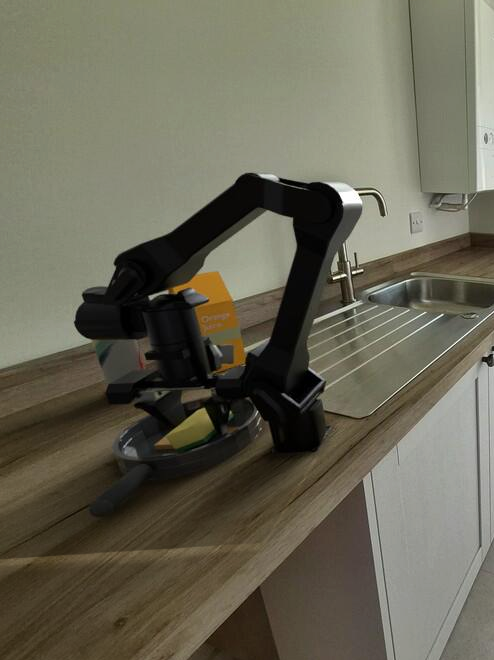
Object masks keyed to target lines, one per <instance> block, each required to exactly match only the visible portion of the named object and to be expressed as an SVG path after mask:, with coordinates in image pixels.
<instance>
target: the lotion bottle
mask: <svg viewBox="0 0 494 660" xmlns="http://www.w3.org/2000/svg"><path fill="white" fill-rule="evenodd" d="M107 288H108V286H104V285H101V286H100V285H99V286H98V285H97V286H92V287H89V288H86V289H85V290H83V291H82V293H85V292H89V291H93V290H107ZM91 343H92V346H93V348H94V351H95V354H96V358H97V361H98V362H99V365H100V368H101V371H102V375H103V376H104V380H105V382H106V385H107V386H108V384H109V383H111V382H113V381H115V380H117V379H119V378H121V377H122V376H124V375H126V374H128V373H130V372H132V371H134V370H147V369H146V366H145V363H144V359H143V357H142V354H141V350H140V348H139V344H138V341H137V340H91Z"/></svg>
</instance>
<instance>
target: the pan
mask: <svg viewBox="0 0 494 660" xmlns="http://www.w3.org/2000/svg"><path fill="white" fill-rule="evenodd" d="M211 396H212V395H210V396H203V397H198V398H194V399H190V400H185V401H183V402H182V401H181V402H182V406H183V409H184V412H185V416H186V419H187V418H189V417H190V416H191V415H192V414H194V413H195V412H196V411H197V410H200V409H202V408H204V406H203V402H205V401H206V400H207V399H208V398H210V397H211ZM230 411H231V413H232V414H233V415H234V416H233V417H232V418H231V419H230V420H229V421H228V425H227V430H226V432H225V433H224V434H223V435H221V436H220V435H219V434H218V433H217V432H216V433H215V434H214V435H213V436H212V437H211V438H210V439H209V440H208V441H207V442H205V443H203V444H200V445H197V446H195V447H192V448H189V449H187V450H184V451H182V452H179V453H178V452H177V451H176V449H160V450H155V447H154V445H155V444H156V443H157V442H159V441H160V440H161V439H162V438H164V437H165V436H166V435H167V434H169V433H170V432H171V431H172V430H171V429H170V428H169V427H167V426H166V425H165V424H164V423H162V422H161V421H159V420H158V419H156V418H155V417H153V416H151V415H150V414H148V415H146V416H144V417H142V418H140V419H139V420H136V421H135V422H133V423H132V424H130V425H129V426H128V427H126V428H124V429H123V430H122V431H121V432H120V433H119V434H118V435H117V436H116V437H115V439H114V440H113V442H112V445H111V449H112V452H113V455H114V458H115V461H116V463H117V466H118V468H119V471H120V473H122V474H123V476H124V475H126V474H127V473H128V472H129V471H131V470H132V469H133V468H134V467H136V466H138V465H141V464H147V465H149V466H151V467H152V469H153V474H152V476H151V477H150V478H149V479H148V480H150V481H152V480H164V479H169V478H175V477H180V476H184V475H187V474H191V473H194V472H198V471H200V470H203V469H206V468H209V467H211V466H213V465H215V464H218V463H221V462H222V461H225V460H227V459H228V458H230V457H232V456H234V455H236V454H237V453H239V452H240V451H242V450H243V449H245V448H246V447H247V446H249V445H250V444H251V443H252V442H253V441H254V440H255V439H256V438H257V437H258V435H259V434H260V432H261V430H262V428H263V421H262V420H263V419H262V416H261V415H260V413H259V412H258V410H257V409H256V407H255V406H254V404H253V403H252V401H251V400H250V398H249V397H248V398H245V399H233V402H232V405H231V409H230ZM148 480H147V481H148Z"/></svg>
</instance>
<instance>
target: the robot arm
mask: <svg viewBox="0 0 494 660" xmlns="http://www.w3.org/2000/svg"><path fill="white" fill-rule="evenodd" d="M363 209H364V208H363V201H362V200H361V198H360V196H359V193H358V191H356V190H355V189H354V187H352V186H350V185H348V183H344V182H341V181H311V182H305V181H301V180H294V179H289V178H283V177H280V176H276V175H275V174H272V173H268V172H244V173H242V174H241V175H239V176H238V177H237V179H236V180H235V182H234V183H233V184H232V185H230V186H229V187H228V188H226V189H225V190H224V191H222V192H221V193H219V194H218V195H217V196H215V197H214V198H213V199H212V200H210V201H209V202H207V204H205V205H204V206H202V207H201V208H200V209H198V211H196V212H195V213H194V214H193V215H191V216H189V217H188V218H187V219H186V220H185V221H183V222H182V223H181V224H179V225H178V226H176V227H175V228H174V229H173V230H172V231H170V232H168V233H166V234H164V235H161V236H158V237H156V238H153V239H149V240H147V241H144V242H141V243H139V244H137V245H135V246H133V247H130V248H128V249H126V250H124V251H122V252H120V253H118V254H117V256H115V258H114V261H113V263H112V264H113V266H114V267H115V270H114V271H113V274H112V276H111V279H110V281H109V283H108V285H107V287H108V288H107V290H93V291H89V292H85V293H83V292H82V293H81V297H82V300H83V302H82V303H81V304H80V305H79V306H78V308H77V310H76V312H75V316H74V320H73V325H74V328H75V330H76V331H77V332H78V334H80V335H81V336H82V337H83V338H85V339H88V340H91V341H92V340H136V341H137V340H142V339H144V338H145V337H147V340H148V343H149V346H150V350H148V351H146V352H144V353H143V354H144V355H143V356H144V357H145V360H146V361H154V362H155V365H156V368H155V369H153V368H152V369H146V370H134V371H132V372H130V373H128V374H126V375H124V376H122V377H121V378H119V379H117V380H115V381H113V382H111V383H109V384H108V385H107V386H106V388H105V391H104V395H105V397H106V400H107V403H108V405H109V406H118V405H119V406H120V405H130V404H132V403H133V402H134V401H135V400H136V401H137V402H136V403H134V404H133V407H134V409H136V410H142V411H143V412H145V413H147V414H148V415H151V416H153V417H155V418H156V419H158V420H159V421H161V422H162V423H164V424H165V425H166V426H167V427H169V428H170V429H171V430H174V429H175V428H176V427H177V426H179V425H180V424H181V423H182V422H184V421H185V420H186V416H185V412H184V409H183V406H182V395H183V391H197V390H199V391H200V390H210V393H211V395H210V396H211V397H210V398H208V399H207V400H206V401H205V402H203V406H204V408H205V410H206V412H207V414H208V416H209V418H210V420H211V422H212V424H213V426H214V428H215V430H216V431H217V433H218V434H219V435H220V436H221V435H223V434H224V433H225V432H226V430H227V425H228V419H229V414H230V409H231V405H232V402H233V399H245V398H248V397H249V398H250V400H251V401H252V403H253V404H254V406H255V407H256V409H257V410H258V412H259V413H260V415H261V419H262V420H263V421H264V422H268V423H267V424H268V426H269V432H270V436H271V440H272V444H273V445H275V446H274V447H273V448H272V450H271V454H272V455H274V454H275V455H277V454H278V455H279V454H299V453H315V452H317V451H319V449H320V447H321V446H322V444H323V443H324V441H325V439H326V438H327V436H328V434H329V432H330V431H331V429H332V425H327V422H326V416H325V409H324V405H323V399H322V398H319V397H320V396H321V395H322V394H324V392H325V389H326V385H327V380H326V379H325V378H323V377H322V376H321V375H320V374H318V372H316V371H314V370H313V369H312V368H310V367H309V366H310V353H309V349H308V340H309V337H310V334H311V330H312V327H313V325H314V321H315V318H316V315H317V312H318V309H319V306H320V303H321V300H322V297H323V293H324V291H325V287H326V284H327V281H328V278H329V275H330V272H331V270H332V266H333V263H334V260H335V257H336V255H337V254H338V252H339V250H340V249H341V248H342V246H343V245H344V244H345V243H346V241H347V240H348V239H349V238H350V236H351V234H352V233H353V231H354V229H355V227H356V225H357V223H358V222H359V220H360V218H361V216H362V213H363ZM267 211H269V212H271V213H273V214H276V215H278V216H282V217H287V218H292V230H293V234H294V239H295V243H296V247H295V252H294V256H293V259H292V262H291V265H290V268H289V273H288V276H287V279H286V282H285V286H284V289H283V292H282V296H281V299H280V304H279V307H278V310H277V314H276V317H275V319H274V320H275V321H274V324H273V327H272V330H271V334H270V337H269V339H267V340H266V341H264V342H263V343H261V344H259V345H258V346H256V347H255V348H253V349H252V350H250V351H249V352H247V354H246V360H245V364H244V365H238V366H235V367H232V368H230V369H228V371H227V372H226V373H224V374H212V372H214V371H218V370H219V369H221V368H222V365H221V364H225V363H227V364H234V344H227V345H213V344H212V340H211V339H210V338H209V337H202V333H201V330H200V326H199V322H198V318H197V315H196V311H195V307H197V306H200V305H202V304H205V303H208V302H209V298H208V297H206V296H204V295H202V294H200V293H198V292H196V291H195V290H194V289H193V288H187V289H184V290H181V291H178V293H177V294H168V293H164V292H167V291H168V290H169V289H171V288H174V287H177V286H180V285H184V284H186V283H188V282H189V281H191V280H192V278H193V277H194V276H195V275H196V274H199V272H200V271H201V270H202V269H203V267H204V265H205V262H206V259H207V257H208V256H209V255H210V254H211V253H212V252H213V251H215V250H216V249H217V248H219V247H220V246H221V245H222V244H224V243H226V242H227V241H228V240H229V239H230V238H232V237H233V236H235V235H236V234H238V233H239V232H240V231H241V230H243V229H244V228H245V227H248V225H250V224H251V223H253V222H254V221H255V220H256V219H258V218H259V217H260V216H262V215H263V214H265V213H266V212H267ZM161 293H162V294H161ZM157 294H158V295H157ZM153 295H155V296H154V297H153V298H152V299H150V296H153Z"/></svg>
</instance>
